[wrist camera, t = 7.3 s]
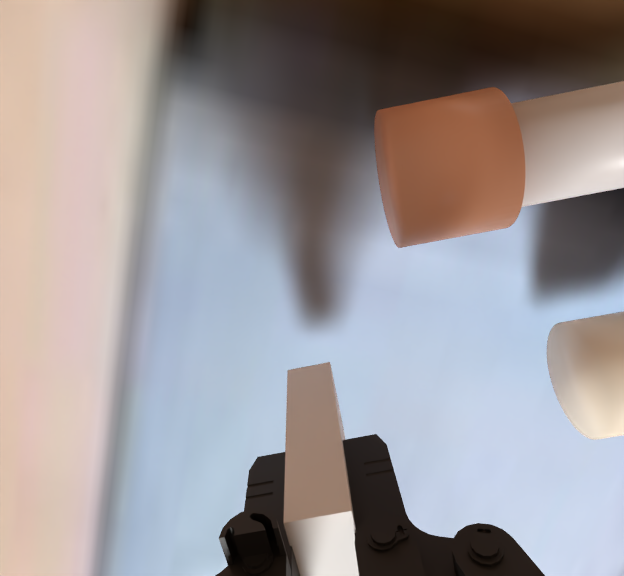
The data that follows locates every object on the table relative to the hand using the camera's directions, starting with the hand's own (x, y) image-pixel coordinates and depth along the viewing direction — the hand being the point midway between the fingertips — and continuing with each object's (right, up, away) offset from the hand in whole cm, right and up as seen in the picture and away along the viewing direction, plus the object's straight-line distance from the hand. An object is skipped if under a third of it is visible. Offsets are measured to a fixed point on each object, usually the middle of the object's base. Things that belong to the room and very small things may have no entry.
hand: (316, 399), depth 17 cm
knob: (+9, +9, -2) cm, 13 cm away
